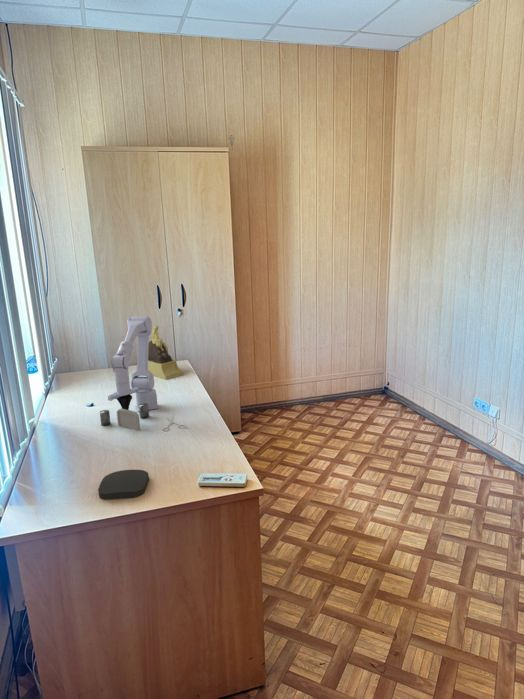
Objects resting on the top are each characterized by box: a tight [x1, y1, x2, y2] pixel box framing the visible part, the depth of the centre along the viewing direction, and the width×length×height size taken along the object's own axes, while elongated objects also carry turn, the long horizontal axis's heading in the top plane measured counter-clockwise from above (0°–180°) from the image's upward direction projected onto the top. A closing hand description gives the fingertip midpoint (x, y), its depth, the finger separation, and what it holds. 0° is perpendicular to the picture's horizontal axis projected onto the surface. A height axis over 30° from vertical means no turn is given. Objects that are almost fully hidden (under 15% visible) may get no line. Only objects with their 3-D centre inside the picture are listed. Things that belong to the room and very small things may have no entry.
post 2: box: [139, 403, 150, 420], centre depth 213 cm, size 4×4×6 cm
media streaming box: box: [97, 469, 150, 501], centre depth 153 cm, size 15×15×3 cm
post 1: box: [99, 409, 112, 427], centre depth 206 cm, size 4×4×6 cm
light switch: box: [116, 407, 141, 432], centre depth 202 cm, size 2×12×8 cm, turn 58°
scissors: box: [162, 414, 190, 432], centre depth 206 cm, size 11×1×20 cm
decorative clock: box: [148, 325, 185, 381], centre depth 281 cm, size 28×13×30 cm, turn 46°
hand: (125, 411), depth 206 cm, fingers closed
